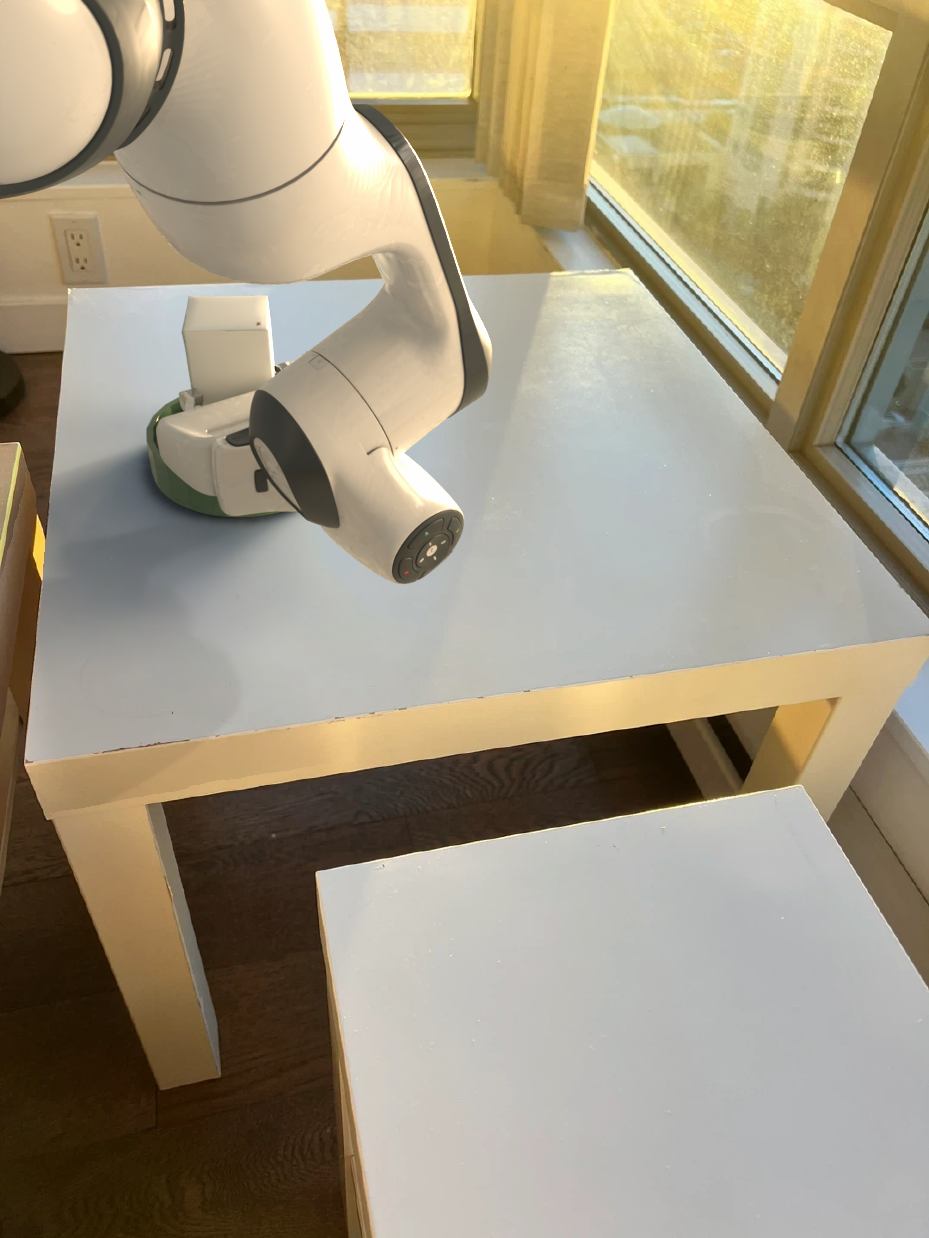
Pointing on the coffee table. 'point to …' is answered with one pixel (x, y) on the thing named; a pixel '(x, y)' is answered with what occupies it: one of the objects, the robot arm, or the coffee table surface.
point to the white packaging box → (228, 345)
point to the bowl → (173, 483)
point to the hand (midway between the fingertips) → (234, 383)
